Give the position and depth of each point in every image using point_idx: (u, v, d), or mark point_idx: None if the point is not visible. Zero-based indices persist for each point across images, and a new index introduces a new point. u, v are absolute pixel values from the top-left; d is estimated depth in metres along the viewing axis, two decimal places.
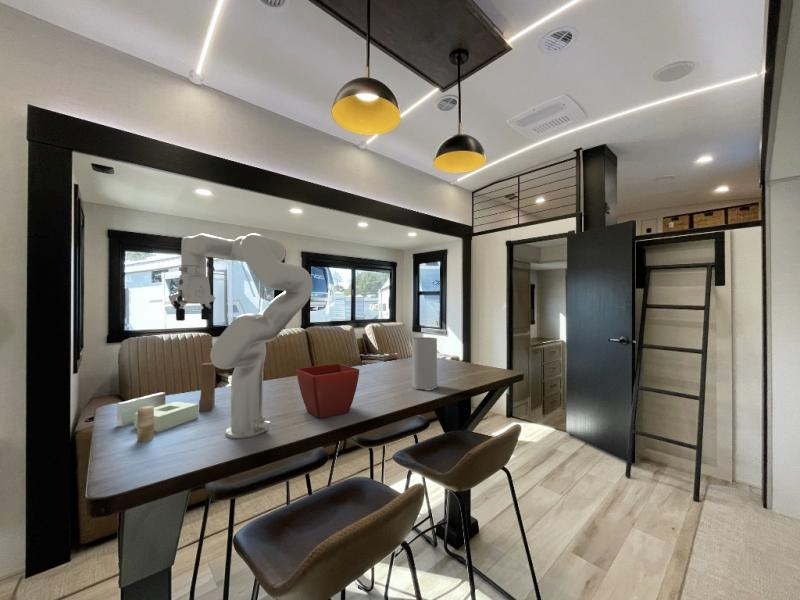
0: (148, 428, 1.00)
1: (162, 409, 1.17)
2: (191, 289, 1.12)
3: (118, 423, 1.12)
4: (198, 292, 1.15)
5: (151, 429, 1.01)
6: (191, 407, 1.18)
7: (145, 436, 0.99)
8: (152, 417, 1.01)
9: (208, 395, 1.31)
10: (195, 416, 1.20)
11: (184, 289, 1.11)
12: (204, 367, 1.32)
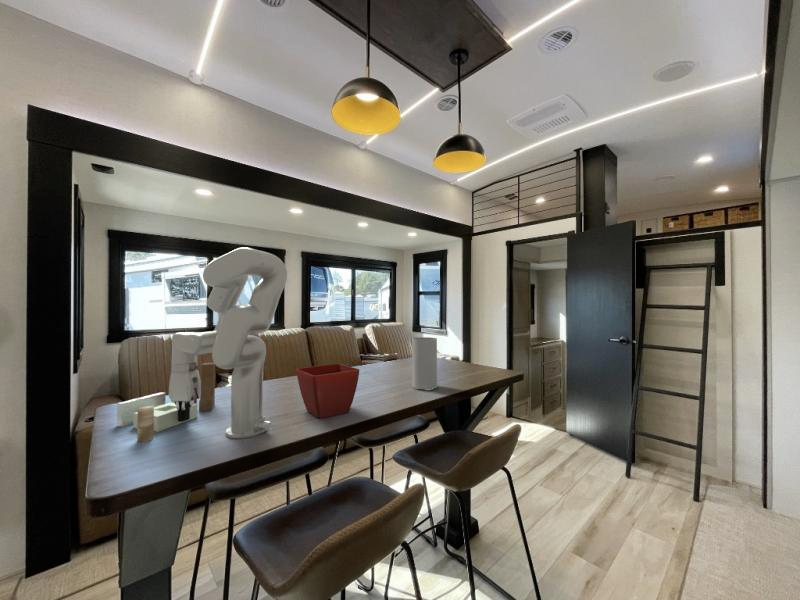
0: (148, 428, 1.00)
1: (161, 409, 1.17)
2: None
3: (118, 423, 1.12)
4: None
5: (151, 429, 1.01)
6: None
7: (145, 436, 0.99)
8: (152, 417, 1.01)
9: (208, 395, 1.31)
10: (194, 416, 1.20)
11: (199, 386, 1.14)
12: (204, 367, 1.32)
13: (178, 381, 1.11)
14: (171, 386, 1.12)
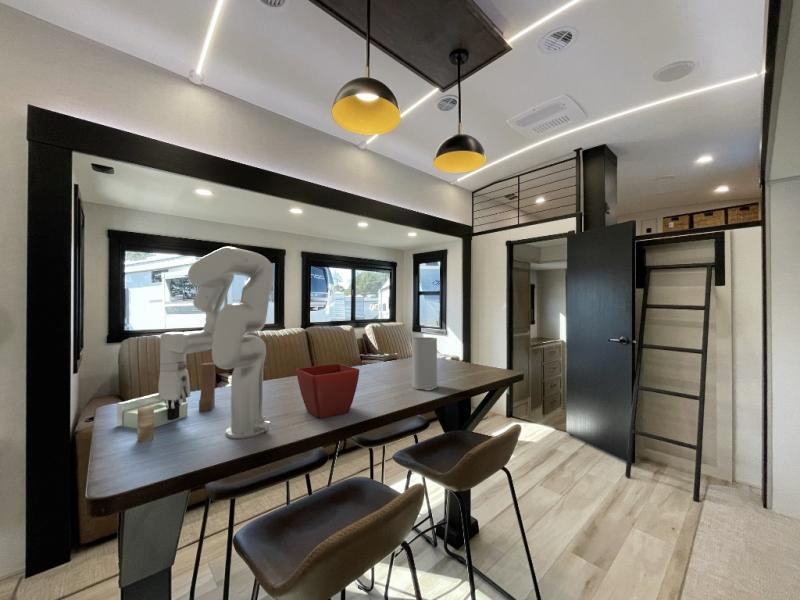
0: (148, 428, 1.00)
1: None
2: None
3: (118, 423, 1.12)
4: None
5: (151, 429, 1.01)
6: (180, 406, 1.20)
7: (145, 436, 0.99)
8: (152, 417, 1.01)
9: (208, 395, 1.31)
10: (185, 415, 1.21)
11: (188, 385, 1.15)
12: (204, 367, 1.32)
13: (167, 380, 1.13)
14: (160, 385, 1.14)
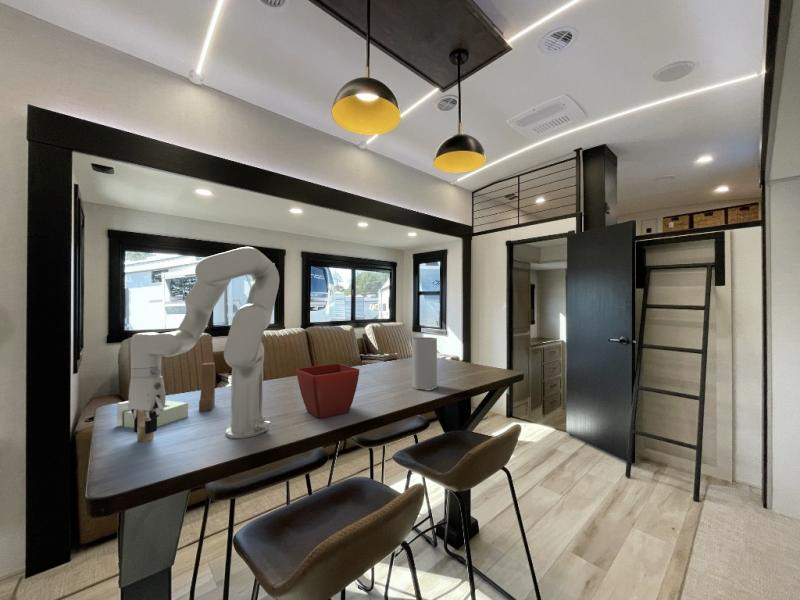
0: None
1: None
2: None
3: (118, 423, 1.12)
4: None
5: None
6: (181, 406, 1.20)
7: (145, 436, 0.99)
8: None
9: (208, 395, 1.31)
10: (185, 415, 1.21)
11: (163, 393, 1.01)
12: (204, 367, 1.32)
13: (138, 388, 0.99)
14: (131, 393, 1.00)
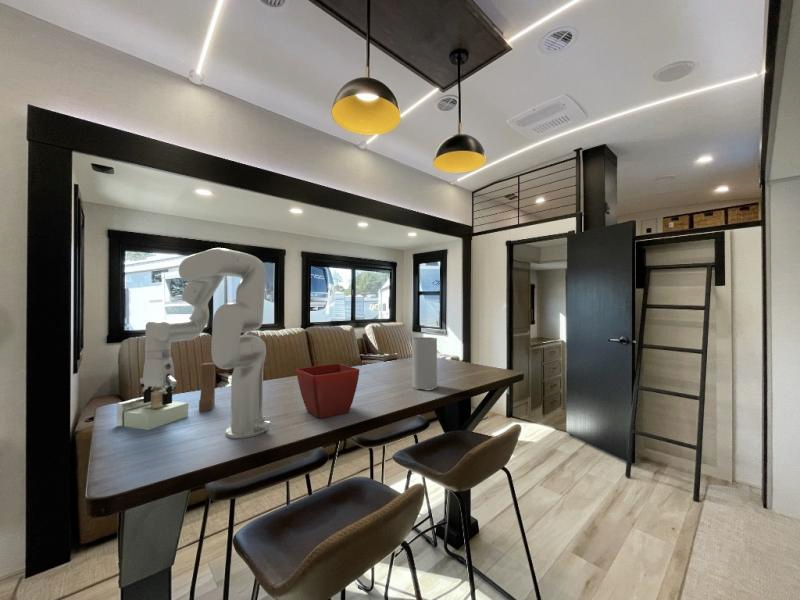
0: None
1: None
2: None
3: (118, 423, 1.12)
4: None
5: None
6: (181, 406, 1.20)
7: None
8: None
9: (208, 395, 1.31)
10: (185, 415, 1.21)
11: (173, 372, 1.18)
12: (204, 367, 1.32)
13: (151, 368, 1.15)
14: (145, 373, 1.16)
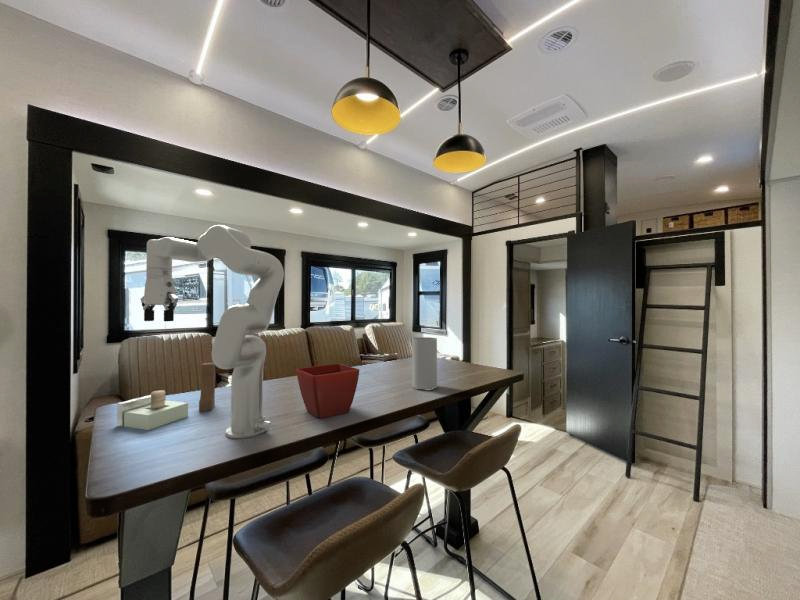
0: None
1: None
2: None
3: (118, 423, 1.12)
4: None
5: None
6: (181, 406, 1.20)
7: None
8: (163, 400, 1.17)
9: (208, 395, 1.31)
10: (185, 415, 1.21)
11: (174, 292, 1.18)
12: (204, 367, 1.32)
13: (153, 285, 1.16)
14: (146, 291, 1.17)
